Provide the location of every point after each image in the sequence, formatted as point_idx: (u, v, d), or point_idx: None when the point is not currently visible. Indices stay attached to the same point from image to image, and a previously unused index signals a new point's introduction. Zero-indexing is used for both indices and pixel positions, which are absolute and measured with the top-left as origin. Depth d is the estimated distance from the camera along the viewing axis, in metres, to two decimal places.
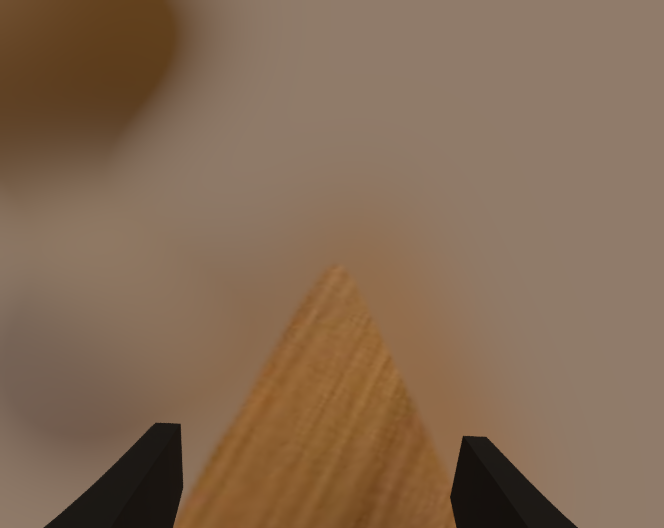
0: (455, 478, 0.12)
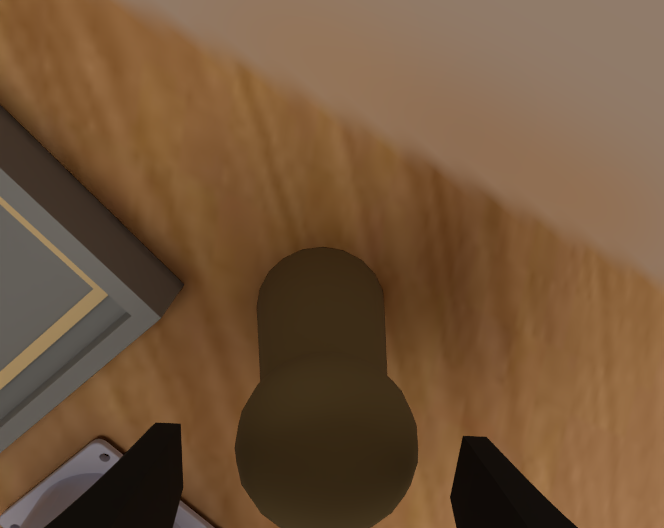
0: (455, 478, 0.12)
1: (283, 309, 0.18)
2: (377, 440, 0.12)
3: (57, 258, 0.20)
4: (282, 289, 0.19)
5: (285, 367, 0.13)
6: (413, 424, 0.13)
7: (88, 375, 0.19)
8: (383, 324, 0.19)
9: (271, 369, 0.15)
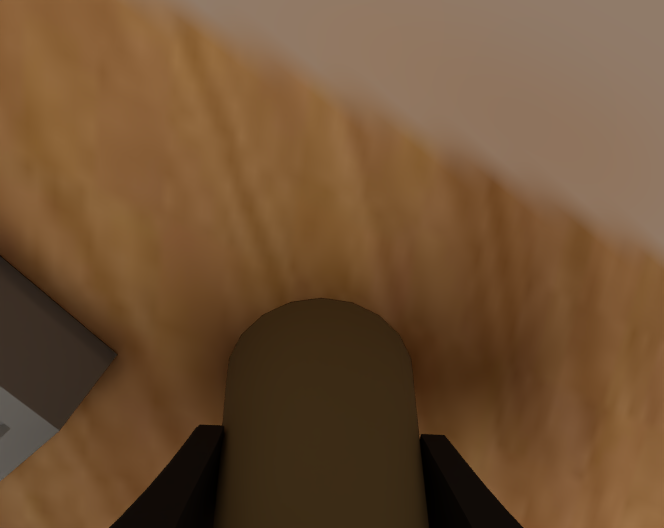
0: None
1: (253, 424, 0.10)
2: None
3: None
4: (256, 379, 0.12)
5: None
6: None
7: None
8: (417, 432, 0.12)
9: None
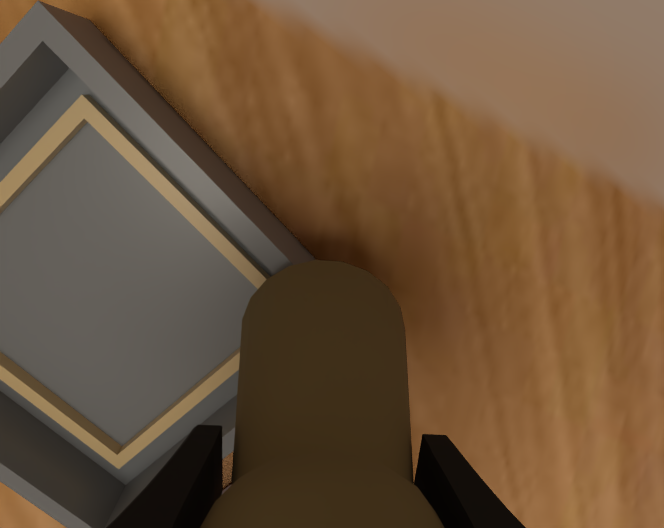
0: (416, 477, 0.12)
1: (260, 363, 0.13)
2: None
3: (247, 286, 0.21)
4: (261, 329, 0.14)
5: (242, 492, 0.08)
6: None
7: None
8: (402, 363, 0.14)
9: (238, 468, 0.10)
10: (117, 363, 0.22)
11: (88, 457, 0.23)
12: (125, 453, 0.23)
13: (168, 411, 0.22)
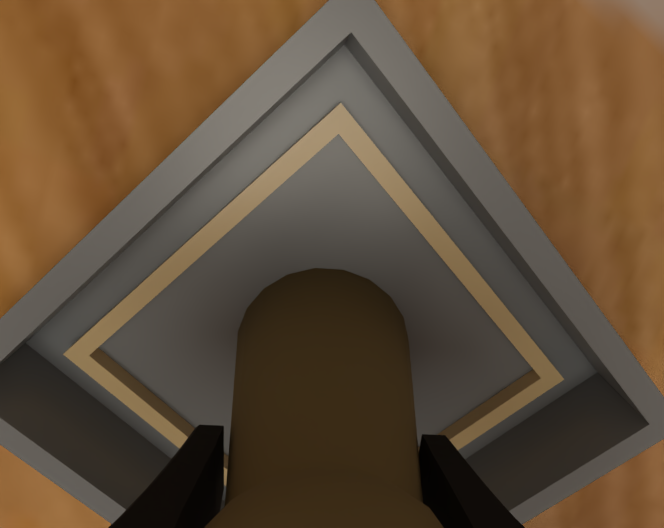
0: None
1: (256, 374, 0.12)
2: None
3: (493, 341, 0.17)
4: (258, 340, 0.13)
5: (235, 515, 0.08)
6: None
7: (570, 492, 0.15)
8: (407, 374, 0.13)
9: (232, 488, 0.10)
10: None
11: None
12: None
13: None
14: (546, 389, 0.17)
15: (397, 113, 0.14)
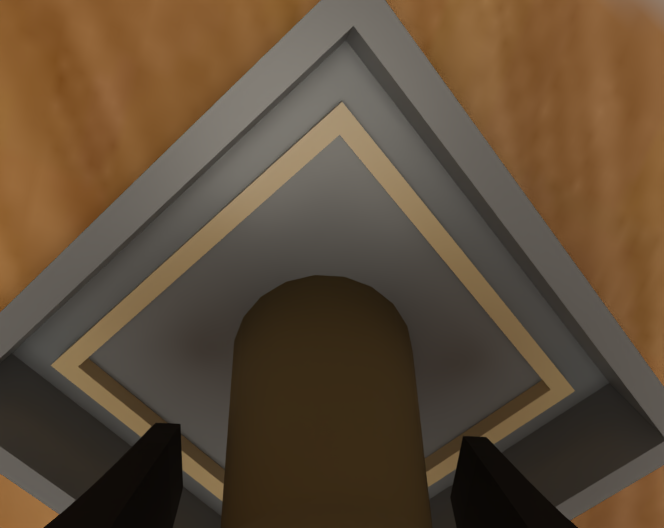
0: (455, 478, 0.12)
1: (253, 391, 0.11)
2: None
3: (501, 351, 0.16)
4: (255, 352, 0.13)
5: None
6: None
7: (581, 510, 0.15)
8: (413, 389, 0.12)
9: (228, 519, 0.09)
10: None
11: None
12: None
13: None
14: (556, 401, 0.16)
15: (401, 113, 0.13)
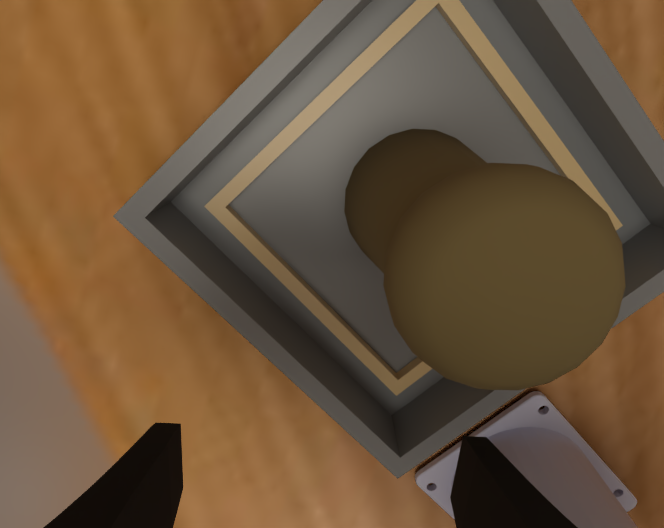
0: (455, 478, 0.12)
1: (392, 175, 0.15)
2: (585, 232, 0.09)
3: None
4: (382, 165, 0.16)
5: (435, 184, 0.11)
6: None
7: (633, 310, 0.18)
8: None
9: None
10: None
11: (359, 385, 0.23)
12: (406, 378, 0.22)
13: None
14: None
15: None
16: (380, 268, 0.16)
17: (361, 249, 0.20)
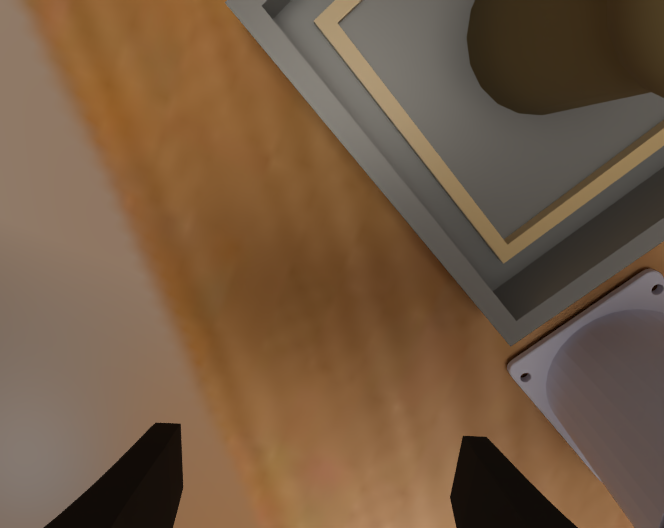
0: (455, 478, 0.12)
1: None
2: None
3: None
4: None
5: None
6: None
7: None
8: None
9: None
10: (529, 128, 0.19)
11: None
12: (516, 243, 0.20)
13: (580, 189, 0.19)
14: None
15: None
16: (532, 66, 0.14)
17: (482, 82, 0.18)
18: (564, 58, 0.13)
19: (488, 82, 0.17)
